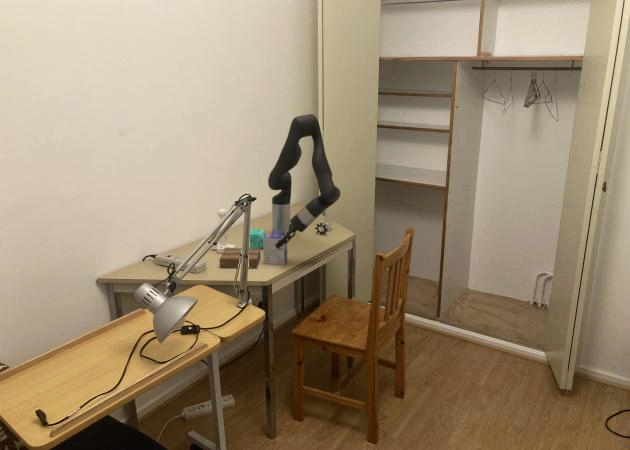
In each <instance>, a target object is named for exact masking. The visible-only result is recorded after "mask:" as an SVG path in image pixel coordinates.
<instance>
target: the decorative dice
mask: <svg viewBox="0 0 630 450" xmlns="http://www.w3.org/2000/svg"><path fill="white" fill-rule="evenodd" d="M249 230H250V248H251V249H260V250H262V249H263V238H264V237H265V236H266V232H265V231H264V229H260V228H251V229H249Z"/></svg>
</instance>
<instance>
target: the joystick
mask: <svg viewBox="0 0 630 450" xmlns="http://www.w3.org/2000/svg"><path fill="white" fill-rule="evenodd" d="M226 213H227V214H228V210H227V209H225V208H220V209H219V210H217V216H218V217H219V221H220V220H221V219H222V218H223V217H224V216H225V215H226ZM225 248H236V245H235V244H230V243H229V242H228V233H227V232H226V233H225V234H224V235H223V237H222V238H221V239H220V238H219V242H218V244H217V246H214V247H213V248H212V249H211V250H212V251H213V250H216V252H217V253H218V254H222V253H223V251H224V249H225Z"/></svg>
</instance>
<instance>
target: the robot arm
mask: <svg viewBox="0 0 630 450" xmlns="http://www.w3.org/2000/svg"><path fill="white" fill-rule="evenodd" d="M306 137H307V138H308V137H311V138H312V142H313V151H312V158H311V165H312V170H313V172H314V175H315V177H316V180H317V184H318V190H319V193H320V195H318V196H317V197H315V198H313V199H311V201H309V202H308V203H307V204H306V205H305V206H304V207H302V208H301V209H300V210H299V211H298V212H297V213H296V214H295V215H293V216H292V218H291V199H292V186H293V185H292V182H293V181H292V175H291V173H290V171H291V170H293V169H294V168H295V167H296V166H297V165H298V163H299V161H300V159H301V158H302V153H303V150H302V147H301V146H300V143H299V142H300V140H302V139H303V138H306ZM267 185H268V187H269V189H270V190H273V191H280V192H278V193H277V194H275V195H273V197H272V198H271V205H272V206H271V210H272V211H271V213H272V214H271V221H272V222H271V223H272V224H271V225H272V226H271V227H272V228H271V229H272V230H278V231H280V235H283V237H282V238H281V240H280V241H279V242H278V243H277V244H275V246H276V247H277V248H278V249H279V248H280V247H281V246H282V245H283V244H284V243H285V244H287V245H288V243H289V241H291V240H292V239H293V238H294V237H295V236H296V232H299V233H303V232H304V231H305V230H306V229H307V228H308V227H310V226H311V225H312V224H313V223H314V222H315V220H316V219H317V218H318V217H320V216H321V214H322V213H323V212H325V210H327V209H328V208H330V207H331V206H332V205H334V204H335V203H336V202H337V201H338V200H339V199H340V197H341V190H340V188H339V187H338V186H336V185H335V183H334V181H333V172H332V169H331V166H330V163H329V161H328V158H327V155H326V151H325V144H324V140H323V136H322V131H321V126H320V123H319V120H318V117H317V116H316V115H315V114H312V113H311V114H310V113H309V114H303V115H298V116H295V117H294V118H293V119H292V120H291V123H290V127H289V130H288V134H287V137H286V139H285V142H284V144H283V147H282V149H281V150H280V153H279V156H278V159H277V161H276V163H275V165H274V167H273V168H272V170H271V171H270V173H269V176H268V179H267ZM272 230H271V231H272ZM273 233H274V234H278V232H273ZM285 238H286V239H287V240H285Z"/></svg>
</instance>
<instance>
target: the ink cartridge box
mask: <svg viewBox="0 0 630 450" xmlns="http://www.w3.org/2000/svg"><path fill="white" fill-rule="evenodd" d="M273 232H278V234H274V233H273ZM282 237H283V235H280V231H278V230H271V234H268V233H267V234H265V237H264V238H263V248H262V249H263V250H262V251H263V252H262V253H263V264H270V265H278V266H279V265H281V266H285V265H286V264H287V262H288V243H287V244H285V243H284V244H283V245H282V246H281V247H280V248H279V249H278V248H277V247H276V246H275V244H277V243H278V242H279V241H280V240H281V238H282ZM285 240H287V239H286V238H285Z"/></svg>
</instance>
